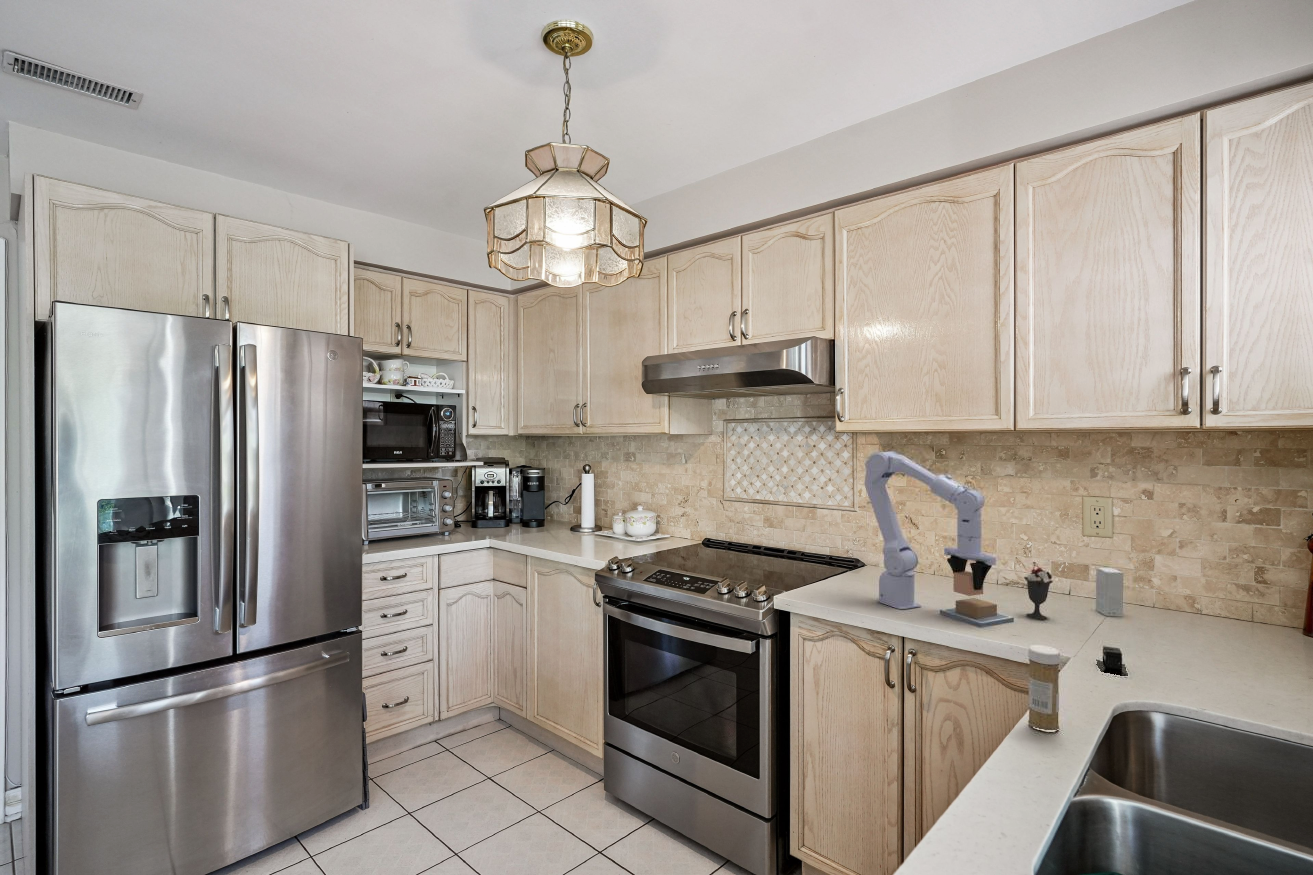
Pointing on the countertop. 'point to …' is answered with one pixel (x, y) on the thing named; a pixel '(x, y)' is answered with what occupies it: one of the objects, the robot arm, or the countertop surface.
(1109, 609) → the skincare box
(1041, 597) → the sundae
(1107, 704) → the countertop surface
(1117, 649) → the black blocky piece
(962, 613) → the blueprint board
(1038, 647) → the sprinkles bottle
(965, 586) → the terracotta block
